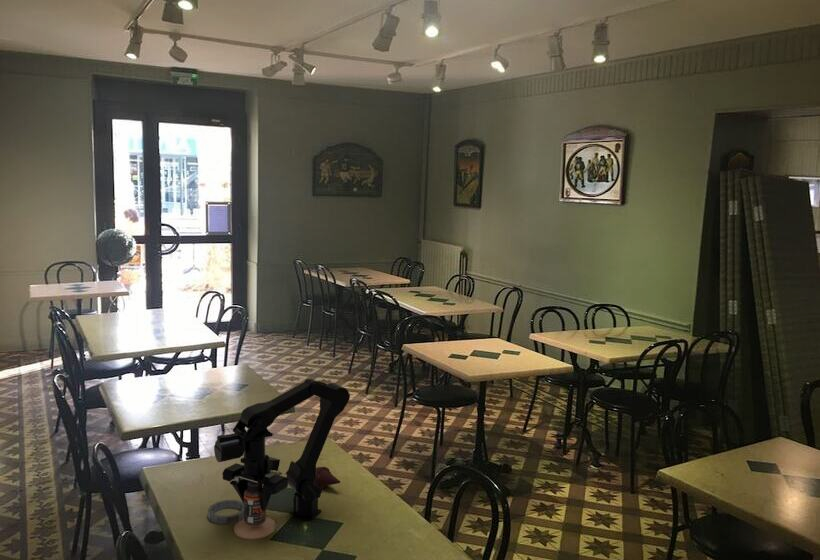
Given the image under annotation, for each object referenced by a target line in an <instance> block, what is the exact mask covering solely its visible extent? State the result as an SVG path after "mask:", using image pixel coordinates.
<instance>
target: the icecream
mask: <svg viewBox="0 0 820 560" xmlns="http://www.w3.org/2000/svg"><path fill="white" fill-rule="evenodd" d="M340 483H341V481H340V479H338V478H337V477H336V476H334V475H333V474H332V472H331V471H330V468H329V467H326V466H319V467H318V466H316V479H315V483H314V484H315V485H316V486H317V487H318V488H320V489H321V490H323V489H324V488H326V487H328V486H331V485H336V484H340Z"/></svg>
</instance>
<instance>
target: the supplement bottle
mask: <svg viewBox="0 0 820 560" xmlns="http://www.w3.org/2000/svg"><path fill="white" fill-rule="evenodd" d="M261 489H263V484H261V483H256V482H253V481H249V482H248V486H247V489H246V490H245V492H244V518H243V519H244V522H245V523H246V524H247V525H250V526H257V525H260V524H262V523H264V522H265V520H266V517H267V509H266V510H264V511H262V508H261V504H260V499H259V494H258V491H259V490H261Z"/></svg>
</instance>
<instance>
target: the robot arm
mask: <svg viewBox="0 0 820 560" xmlns="http://www.w3.org/2000/svg"><path fill="white" fill-rule="evenodd" d="M314 396H316V397H318V398H319V397H320V398H319V413H318V415H317V418H316V420H315V422H314V424H313V426H312V429H311V431H310V434H309V436H308V439H307V441H306V444H305V446H304V448H303V451H302V453H301V456H300V458H299V459H298V460H296V461H293V460H292V461H290V463H289V466H288V469H287V471H286V472H285V475H286V476H283V475H279V474H273V475H272V476H270V477H267V476H266V475H270V474H271V473H272V472H271V471H275V472H278V471H279V467H280V462H281V459H279V458H276V457H271V456H269V454H266V438H269V437H273V436H274V435H273V433H272V432H271V431H270V430H269V429H268V427H270V426H271V425H272V424H273V423H274V422H275V420H276V419H277V418H278V417H279V416H281V415H282V414H284V413H286V412H287V411H289V410H291V409H292V408H295V407H296V406H298V405H300V404H302V403H304V402H305V401H307V400H308V399H311V398H312V397H314ZM350 396H351V395H350V392H349V390H348V389H347V388H345V387H344V386H341V385H340V384H338V383H336V382H329V383H326V382H322V381H318V380H315V379H313V378H307V379H305V380H304V381H303V382H302V383H299V384H297V385H296V386H294V387H293V388H291V389H289V390H287V391H285V392H283V393H282V394H279V395H277V396H276V397H274V398H272V399H271V400H269V401H263V402H259V403H255V404H252V405H249V406H246V407H245V408H244V409H243V410H242V411H241V414H240V418H239V419H238V421H237V422H236V424H235V425H234V427H233V428H232V432H233V433H228V434H222V435H217V436H216V440H215V443H214V445H213V451H214V452H213V453H214V456H215V459H216V461H217V463H222V462H227V461H232V460H235V459H240V463H242V464H239V463H237V462H236V463H233V464H232V465H230V466H227V467H225V468H224V470H223V472H222V480H224V481H225V482H229V484H230V485H231V486H232V487H233V488H234V490H235V491H236V493H237V494H238V496H239V498H240V499H241V502H243V503H244V492H245V490H246V489H247V486H248V482H249V481H253V482H256V483H261V484H262V485H263V489H261V490H259V491H258V494H259V499H260V504H261V508H262V511H264V510H266V511H267V508H268V507H267V506H268V504H269V502H270V499H271V497H272V495H276V494H279V493H280V492H281V491H282V490H284V489H286V488H288V487H290V488H291V489H292V492H293V491H294V494H293V495H294V496H293V498H292V499H293V500H292V501H293V503H292V505H293V506H292V508H293V511H292V512H291V513H290V516H291V517H294V518H298V519H301V520H305V521H311V520H312V519H313V518H315V517H317V515H319V514H321V513H322V509H319V498H320V497H321V494H322V492H323V489H320V488H318V487H317V486H316V485H315V484H314V483H315V479H316V468H317V463H318V460H319V459H320V455H321V454H322V451H323V449H324V446H325V444H326V441H327V440H328V439H327V438H328V436H329V434H330V431H331V429H332V427H333V425H334V422H335V419H336V417H338V416H339V415H340V414H341V413H342V412H343V411H344V410H345V408H346V406H347V405H348V403H349V402H350V398H351V397H350ZM245 428H247V430H245ZM241 457H242V458H241Z"/></svg>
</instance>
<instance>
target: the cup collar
mask: <svg viewBox="0 0 820 560" xmlns="http://www.w3.org/2000/svg"><path fill="white" fill-rule="evenodd" d="M207 509H208V510H207V518H208V520H209V521H210V522H211V523H213V524H217V525H230V524H234V523H238V522H239V521H241V520H243V519H244V503H243V502H242V500H241V501H240V500H238V499H237V500H236V499H225V500H221V501H217V502H215V503H213V504H212V505H210V506H209V507H208V508H207ZM224 509H236V510H239V511H238V512H236V513H234V514H230V515H219V514H216V512H218V511H220V510H224ZM214 512H215V513H214Z"/></svg>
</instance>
